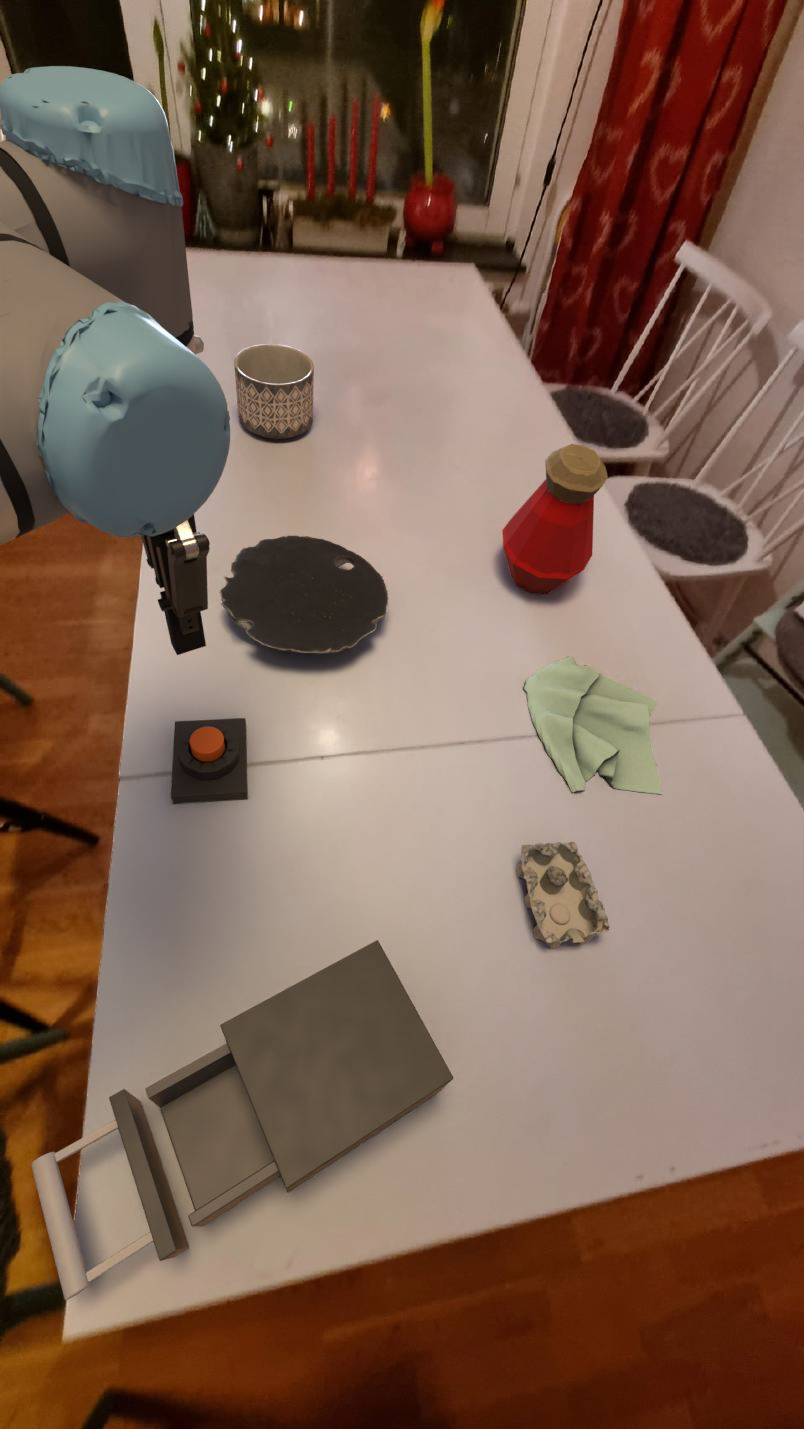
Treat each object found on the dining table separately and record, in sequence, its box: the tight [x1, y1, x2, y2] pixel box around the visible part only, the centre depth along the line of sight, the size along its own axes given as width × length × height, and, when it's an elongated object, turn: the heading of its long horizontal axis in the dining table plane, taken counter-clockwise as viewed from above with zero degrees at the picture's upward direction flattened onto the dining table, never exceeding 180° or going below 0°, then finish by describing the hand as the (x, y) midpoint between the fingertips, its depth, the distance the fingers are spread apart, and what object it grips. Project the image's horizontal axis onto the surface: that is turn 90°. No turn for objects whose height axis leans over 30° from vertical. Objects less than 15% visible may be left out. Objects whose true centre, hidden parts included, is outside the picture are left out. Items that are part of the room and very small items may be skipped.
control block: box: [170, 717, 249, 805], centre depth 78 cm, size 10×8×4 cm
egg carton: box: [515, 841, 610, 949], centre depth 73 cm, size 11×8×4 cm
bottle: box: [501, 443, 609, 596], centre depth 98 cm, size 16×14×20 cm
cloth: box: [522, 655, 663, 796], centre depth 88 cm, size 20×22×2 cm
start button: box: [190, 727, 225, 762], centre depth 76 cm, size 4×4×2 cm
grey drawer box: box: [220, 939, 454, 1193], centre depth 59 cm, size 15×13×9 cm
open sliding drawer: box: [31, 1043, 281, 1301], centre depth 54 cm, size 20×11×7 cm, turn 120°
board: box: [219, 535, 389, 654], centre depth 93 cm, size 22×22×5 cm
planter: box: [233, 343, 315, 440], centre depth 116 cm, size 13×13×10 cm
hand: (188, 644), depth 63 cm, fingers closed
